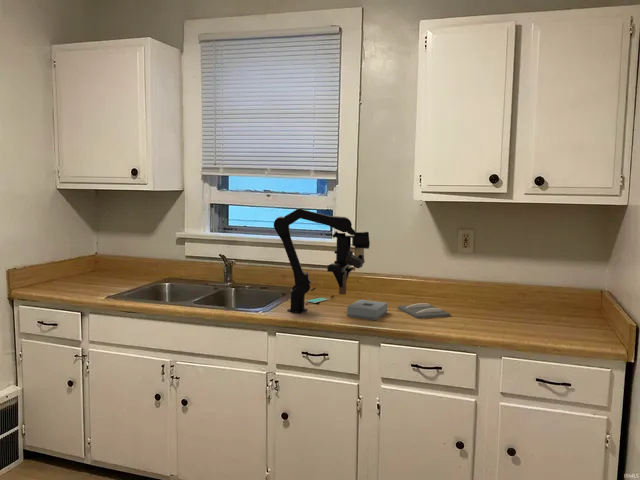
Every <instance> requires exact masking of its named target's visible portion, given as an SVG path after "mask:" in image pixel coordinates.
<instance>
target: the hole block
mask: <svg viewBox="0 0 640 480" xmlns="http://www.w3.org/2000/svg"><path fill="white" fill-rule="evenodd" d="M346 311H347V312H346V317H350V318H359V319H365V320H372V321H377V320H379V319H380V318H381V317H383V316H384V315H385V314H387V313H388V302H384V301H374V300H366V299H359V300H357V301H355V302H353V303H350V304H349V305H348V306H347V310H346Z"/></svg>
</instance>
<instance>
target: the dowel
mask: <svg viewBox="0 0 640 480" xmlns="http://www.w3.org/2000/svg"><path fill="white" fill-rule="evenodd" d="M346 281H347V282H348V279H347V273H346V274H345V275H344V281H343V286H342V287H339V286H338V295H343V296H344V295H347V282H346Z"/></svg>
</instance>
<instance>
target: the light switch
mask: <svg viewBox="0 0 640 480" xmlns="http://www.w3.org/2000/svg"><path fill="white" fill-rule="evenodd" d="M397 310H399V311H401V312H403V313H405V314H407V315H409V316H411V317H413V318H415V319H417V320H424V319H423V318H426V319H435V318H434V317H439V318H447V317H446V316H450V317H451V313H450V312H448V311H446V310H443V308H438V307H436V306H434V305H431V304H430V303H425V302H424V303H422V302H420V303H419V302H418V303H414V304H406V305H397Z"/></svg>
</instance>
